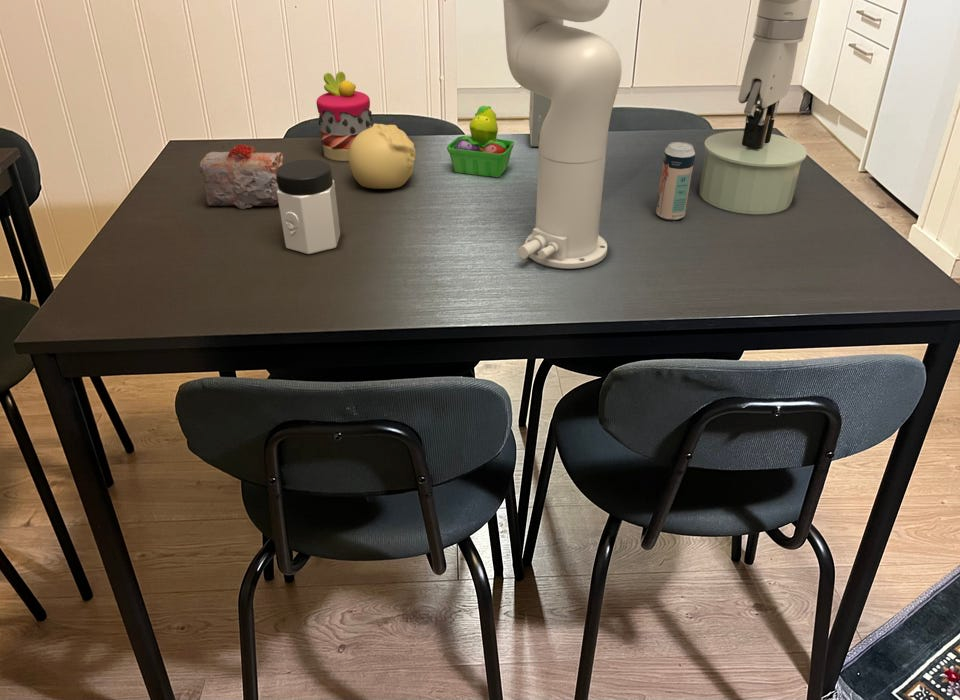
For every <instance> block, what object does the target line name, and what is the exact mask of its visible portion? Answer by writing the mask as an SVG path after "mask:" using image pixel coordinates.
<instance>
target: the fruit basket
mask: <svg viewBox="0 0 960 700" xmlns="http://www.w3.org/2000/svg"><path fill="white" fill-rule="evenodd" d="M474 115H475V116H474V117H473V118H472V119H471V120H470V122H469V126H468V127H469V132H470V135H471V136H469V135H460V136H458V137H456V138H455V139H454V140H453V141H451V142H450V143H449V144H448V145H446V149H447V152H448V154H449V157H450V160H451V163H452V167H453V170H454V172H455V173H458V174H459V173H460V174H467V175H478V176H484V177H489V176H490V177H493V178H501V175H503V173H504V172H505V171H506V170H507V169H508V166H509V163H510V159H511V154H512V150H513V148H514V147H515V141H514V140H508V139H502V138H501V139H500V138H498V137H497V135H498V132H499V127H498V121H497V114H496V112H495V111H494V110H493V109H492V106H489V105H481V106H479V108H478V109H477V111H476V113H474Z"/></svg>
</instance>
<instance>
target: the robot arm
mask: <svg viewBox="0 0 960 700" xmlns="http://www.w3.org/2000/svg"><path fill="white" fill-rule="evenodd" d="M502 1H503V18H504V34H505V35H504V36H505V52H506V60H507V66H508V68H509V72H510V75H511V76H512V78H513V79H514V81H515V82H516V83H517V84H518V85H519V86H520V87H522V88H524V89H526V90H527V91H532V92H534V93H537V94H539V95H542V96H544V97H546V98H548V99H550V100H551V107H550V109H549V112H548V114H547V116H546V118H545V120H544V122H543V125H542V127H541V131H540V138H539V146H538V160H537V161H538V162H537V163H538V164H537V183H536V185H537V186H536V207H535V209H536V210H535V227H534V228H533V229H532V232H531V233H530V234H529V235H528V236H527V237H526V239H525V240H524V243H523V244H522V245H520V246H519V247H518V248H517V253H518V256H519V257H520V258H521V259H527V258H529V259H531V260H532V261H534V262H535V263H538V264H540V265H543V266H546V267H550V268H553V269H554V268H555V269H561V270H562V269H565V270H573V269H583V268H588V267H592V266H595V265H596V264H599V263H600V262H602V261H603V260H604V259H605V258H606V256H607V254H608V243H607V241H606V240H605V239H604V237H602V236H601V235H600V234H599V231H600V221H601V212H602V211H601V210H602V201H603V190H604V179H605V169H606V159H607V148H608V147H607V146H608V139H609V138H608V137H609V129H610V122H611V116H612V111H613V109H614V105H615V101H616V97H617V94H618V91H619V88H620V84H621V80H622V72H623V71H622V69H623V68H622V60H621V57H620V55H619V52H618V50H617V49H616V48H615V47H614V45H613V44H612V43H611V42H610V41H609V40H607V39H606V38H604V37H603V36H601V35H599V34H596V33H594V32H590V31H588V30H584V29H580V28H577V27H572V26H567V25H564V21H567V22H573V23H588V22H592V21H595V20H597V19H598V18H600V17H601V16H602V15H603V14H604V13H605V11H606V10H607V8H608V6H609V4H610V0H502ZM812 1H813V0H759V2H758V6H757V12H756V18H755V22H754V23H755V24H754V29H753V33H752V39H754V40H753V41H752V44H751V47H750V50H749V54H748V56H747V60H746V64H745V68H744V72H743V76H742V80H741V84H740V89H739V94H738V98H737V99H738V102H739V103H740V104H745V107H744V108H743V109H744V110H743V114H744V115H745V125H744V129H743V131H744V135H743V140H742V145H743V146H747V147H751V148H755V149H759V148H761V145H762V141H763V136H764V131H765V126H766V125H764V121H765V117H766V113H769V114H770V120H769V125H768V129H767V134H766V139H765V143H769V142H770V139H771V134H773V129H774V124H775V119H776V117H777V112H778V107H779V104H780V101H781V100H783V99H784V98H785V97H786V96H787V95H788V93H789V90H790V87H791V83H792V79H793V74H794V71H795V64H796V59H797V52H798V47H799V43H801V42H803V40H804V38H805V37H804V36H805V33H806V32H805V31H806V28H807V25H808V24H807V23H808V19H809V14H810V11H811V6H812ZM758 102H759V103H758ZM760 112H761V114H760Z"/></svg>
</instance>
